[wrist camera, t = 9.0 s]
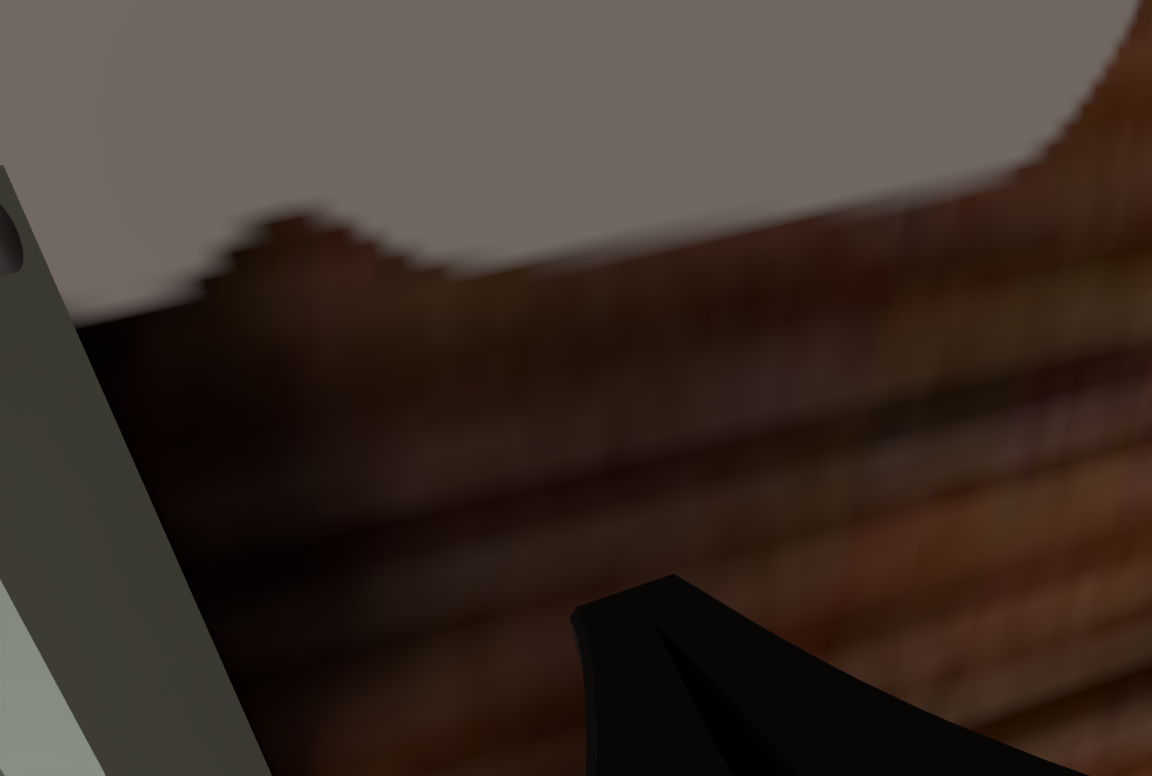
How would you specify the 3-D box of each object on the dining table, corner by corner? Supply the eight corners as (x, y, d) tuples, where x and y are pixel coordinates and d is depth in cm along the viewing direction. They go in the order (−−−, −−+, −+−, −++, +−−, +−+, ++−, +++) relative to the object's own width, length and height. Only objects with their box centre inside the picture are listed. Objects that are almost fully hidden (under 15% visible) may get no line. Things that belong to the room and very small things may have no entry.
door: (340, 829, 19) (324, 1061, 14) (253, 861, 18) (206, 1111, 13) (62, 154, 13) (-128, 139, 8) (-70, 179, 13) (-351, 179, 8)
